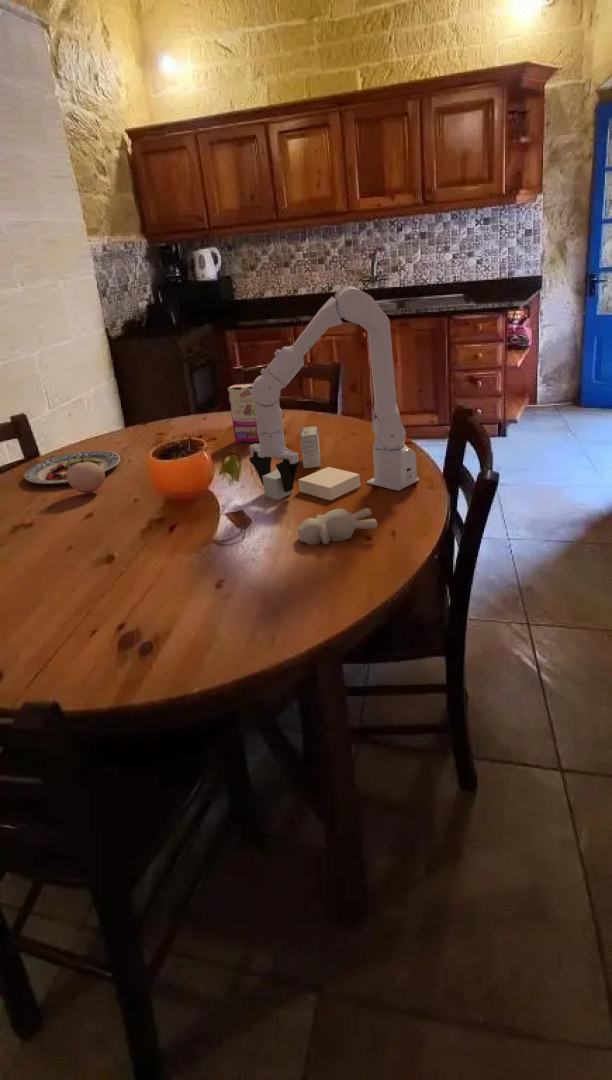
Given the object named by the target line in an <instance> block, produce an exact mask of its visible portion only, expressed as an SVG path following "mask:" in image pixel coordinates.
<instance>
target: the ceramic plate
mask: <svg viewBox="0 0 612 1080" xmlns="http://www.w3.org/2000/svg"><path fill="white" fill-rule="evenodd" d="M81 456H82V458H83V461H84V460H85V459H88V458H96V459H99V460H101V461H102V462H103V463H101V462H99V463H100V464H101V465H102V466H103V469H104V472H107V471H109V470H111V469H113V468H114V467H116V466H117V465H118V464H119V463H120V461H121V456H120V455H119V454H118V453H116V452H113V451H107V450H91V451H90V450H89V451H79V452H74V453H68V454H64V455H59V456H55V457H52V458H50V459H46V460H44V461H41V462H39V463H37V464H34V465H33V466H31V467H30V468H29V469H26V471H25V473H24V479H25V480H26V481H28V482H30V483H35V484H44V485H45V484H46V485H48V484H49V485H53V484H57V485H58V484H67V483H68V484H69V482H68V480H67V469H68V467H69V466H70V465H71V464H70V465H68V466H66V467H65V468H64V466H65V465H66V464H67V463H69V462H71V461H74V460H80V461H82V460H81Z"/></svg>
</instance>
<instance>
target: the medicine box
mask: <svg viewBox="0 0 612 1080" xmlns="http://www.w3.org/2000/svg"><path fill="white" fill-rule="evenodd" d="M300 448H301V455H302V457H301V458H302V466H303V468H304V469H313V468H315V469H316V468H321V463H322V462H321V450H320V449H321V448H320V438H319V427H318V426H306V427H302V428H300Z"/></svg>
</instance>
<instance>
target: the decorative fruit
mask: <svg viewBox="0 0 612 1080" xmlns="http://www.w3.org/2000/svg"><path fill="white" fill-rule="evenodd" d="M81 460H82V461H80V460H74V461H71V462H69V463H67V464H66V465H65V466H64V468H65V467H66V466H68V465H70V464H71V465H70V466H69V467H68V469H67V480H68V482H69V483H68V484H69V486H71V488H73V490H75V491H77V492H79V493H83V494H88V495H89V494H90V495H91V494H92V493H94V492H96V491H97V490H99V489H100V488H101V487H102V486H103V484H104V482H105V477H106V473H105V472H106V471H105V472H104V469H103V466H102V465H101V464H100V463H99V462H101V463H103V462H102V461H101V460H99V459H96V458H88V459H85V460H84V461H83V458H82V456H81Z"/></svg>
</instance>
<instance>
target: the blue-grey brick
mask: <svg viewBox="0 0 612 1080" xmlns="http://www.w3.org/2000/svg"><path fill="white" fill-rule="evenodd" d="M262 477H263V484H264V486H263V490H264V492H263V493H264V496H265V497H267V496H268V497H267V498H272V499H273V500H276V501H279V500H281V499H283V498H285V497H287V496H290V495H292V494H293V490H291V491H289V492H284V489H283V484H282V479H281V476H280V473H279V471H278V469H275V470H274V471H271V473H268V474H266V475H263V476H262Z"/></svg>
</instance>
